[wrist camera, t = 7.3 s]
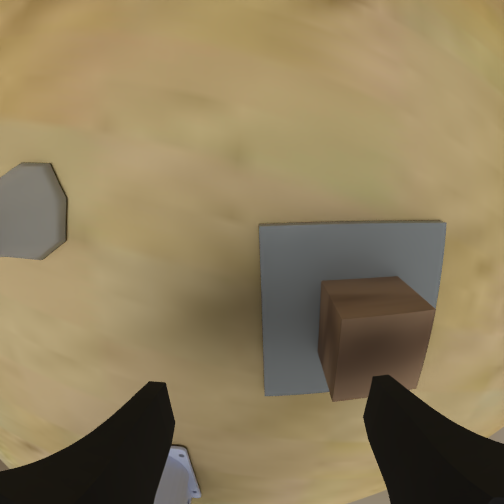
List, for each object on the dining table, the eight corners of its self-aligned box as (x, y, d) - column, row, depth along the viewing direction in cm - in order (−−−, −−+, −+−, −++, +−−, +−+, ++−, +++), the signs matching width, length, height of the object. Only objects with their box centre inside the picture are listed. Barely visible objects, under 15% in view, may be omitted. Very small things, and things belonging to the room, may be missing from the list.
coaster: (415, 372, 21) (419, 377, 20) (264, 389, 21) (264, 396, 20) (440, 220, 18) (446, 222, 17) (258, 223, 18) (258, 226, 17)
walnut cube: (387, 344, 19) (416, 388, 15) (317, 352, 19) (332, 401, 15) (397, 275, 18) (435, 309, 13) (321, 280, 18) (342, 319, 13)
